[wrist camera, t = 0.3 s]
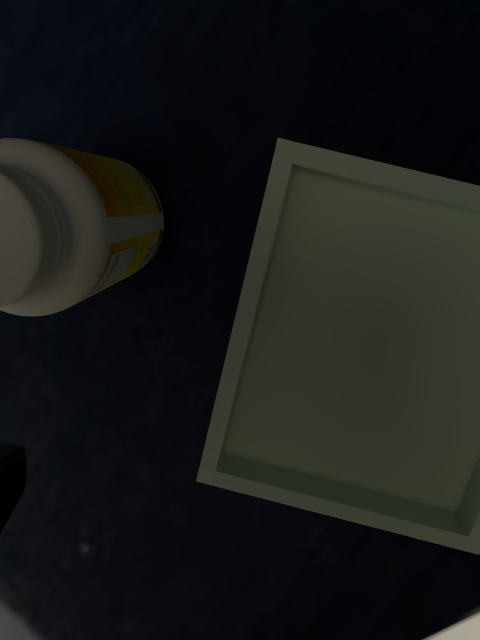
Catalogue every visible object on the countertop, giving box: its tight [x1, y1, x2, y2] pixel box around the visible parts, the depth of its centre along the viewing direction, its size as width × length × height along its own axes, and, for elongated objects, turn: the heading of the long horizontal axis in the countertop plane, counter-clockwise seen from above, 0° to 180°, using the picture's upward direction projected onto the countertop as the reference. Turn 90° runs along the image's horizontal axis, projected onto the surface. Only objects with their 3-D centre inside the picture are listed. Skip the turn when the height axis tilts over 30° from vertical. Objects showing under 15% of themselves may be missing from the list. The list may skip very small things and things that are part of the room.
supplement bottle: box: [0, 138, 164, 316], centre depth 17 cm, size 6×6×10 cm
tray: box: [196, 138, 480, 554], centre depth 21 cm, size 16×14×2 cm
